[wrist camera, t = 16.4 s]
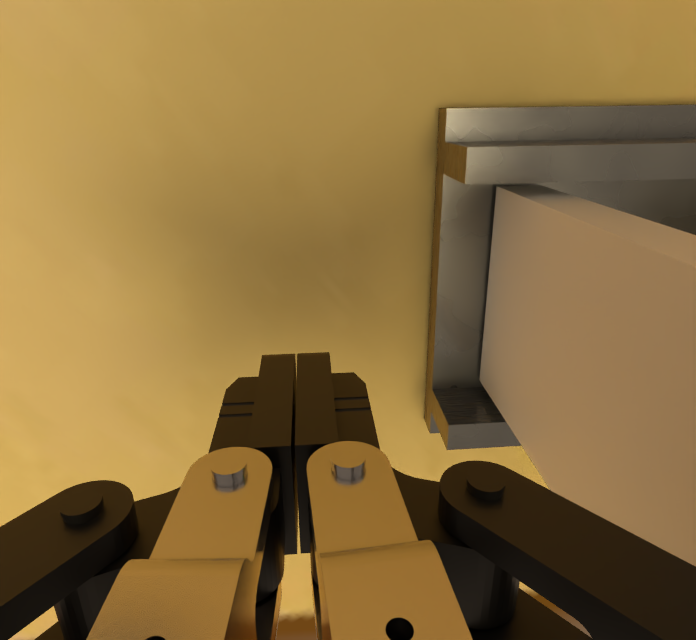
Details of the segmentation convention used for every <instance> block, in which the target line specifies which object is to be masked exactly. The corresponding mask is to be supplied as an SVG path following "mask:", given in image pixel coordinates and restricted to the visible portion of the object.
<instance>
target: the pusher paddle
mask: <svg viewBox="0 0 696 640" xmlns="http://www.w3.org/2000/svg"><path fill="white" fill-rule="evenodd" d="M479 380H480V382H481V384H482V385H483V387H484V388H485V390H486V391H487V393H488V394H489V396H490V397H491V399H492V401H493V402H494V404H495V405H496V407H497V408H498V410H499V411H500V413H501V414H502V416H503V418H504V419H505V421H506V422H507V424H508V425H509V427H510V428H511V430H512V432H513V433H514V435H515V436H516V438H517V439H518V441H519V442H520V444H521V445H522V447H523V449H524V450H525V452H526V453H527V455H528V456H529V458H530V459H531V461H532V463H533V464H534V466H535V467H536V469H537V470H538V472H539V473H540V475H541V476H542V478H543V480H544V481H545V483H546V484H547V486H548V487H549V489H550V490H551V491H552V492H554V493H556V494H558V495H560V496H562V497H564V498H566V499H568V500H570V501H572V502H573V503H575V504H577V505H579V506H581V507H583V508H585V509H587V510H589V511H591V512H593V513H594V514H596V515H598V516H600V517H602V518H604V519H606V520H608V521H610V522H612V523H613V524H615V525H617V526H619V527H621V528H623V529H625V530H627V531H629V532H631V533H633V534H634V535H636V536H638V537H640V538H642V539H644V540H646V541H648V542H650V543H652V544H654V545H655V546H657V547H659V548H661V549H663V550H665V551H667V552H669V553H671V554H673V555H675V556H676V557H678V558H680V559H682V560H684V561H686V562H688V563H690V564H692V565H694V566H696V235H693V234H690V233H687V232H684V231H681V230H678V229H675V228H672V227H669V226H666V225H662V224H659V223H656V222H653V221H650V220H647V219H644V218H641V217H638V216H635V215H632V214H629V213H625V212H622V211H619V210H616V209H613V208H610V207H607V206H604V205H601V204H598V203H595V202H592V201H588V200H585V199H582V198H579V197H576V196H573V195H570V194H567V193H564V192H561V191H558V190H555V189H551V188H548V187H545V186H542V185H525V186H497V188H496V199H495V210H494V221H493V233H492V244H491V255H490V266H489V277H488V289H487V300H486V311H485V322H484V333H483V345H482V356H481V367H480V378H479Z"/></svg>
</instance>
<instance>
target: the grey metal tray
mask: <svg viewBox="0 0 696 640" xmlns="http://www.w3.org/2000/svg"><path fill="white" fill-rule="evenodd" d="M525 185H542V186H545V187H548V188H551V189H555V190H558V191H561V192H564V193H567V194H570V195H573V196H576V197H579V198H582V199H585V200H588V201H592V202H595V203H598V204H601V205H604V206H607V207H610V208H613V209H616V210H619V211H622V212H625V213H629V214H632V215H635V216H638V217H641V218H644V219H647V220H650V221H653V222H656V223H659V224H662V225H666V226H669V227H672V228H675V229H678V230H681V231H684V232H687V233H690V234H693V235H696V105H635V106H567V107H498V108H439V124H438V146H437V167H436V188H435V209H434V230H433V251H432V273H431V294H430V315H429V336H428V357H427V378H426V400H425V422H426V425H427V427H428V430H429V432H430V433H440V434H441V437H442V439H443V441H444V444H445V446H446V449H447V450H454V449H471V448H488V447H505V446H522V445H521V444H520V442H519V441H518V439H517V438H516V436H515V435H514V433H513V432H512V430H511V428H510V427H509V425H508V424H507V422H506V421H505V419H504V418H503V416H502V414H501V413H500V411H499V410H498V408H497V407H496V405H495V404H494V402H493V401H492V399H491V397H490V396H489V394H488V393H487V391H486V390H485V388H484V387H483V385H482V384H481V382H480V380H479V378H480V367H481V356H482V345H483V333H484V322H485V311H486V300H487V289H488V277H489V266H490V255H491V244H492V233H493V221H494V210H495V199H496V188H497V186H525Z"/></svg>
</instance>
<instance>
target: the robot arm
mask: <svg viewBox="0 0 696 640" xmlns="http://www.w3.org/2000/svg"><path fill="white" fill-rule="evenodd" d="M298 510H299V528H300V546H301V553H310V555H311V576H312V595H313V605H314V614H315V624H316V632H317V640H696V566H694V565H692V564H690V563H688V562H686V561H684V560H682V559H680V558H678V557H676V556H675V555H673V554H671V553H669V552H667V551H665V550H663V549H661V548H659V547H657V546H655V545H654V544H652V543H650V542H648V541H646V540H644V539H642V538H640V537H638V536H636V535H634V534H633V533H631V532H629V531H627V530H625V529H623V528H621V527H619V526H617V525H615V524H613V523H612V522H610V521H608V520H606V519H604V518H602V517H600V516H598V515H596V514H594V513H593V512H591V511H589V510H587V509H585V508H583V507H581V506H579V505H577V504H575V503H573V502H572V501H570V500H568V499H566V498H564V497H562V496H560V495H558V494H556V493H554V492H552V491H551V490H549V489H547V488H545V487H543V486H541V485H539V484H537V483H535V482H533V481H531V480H530V479H528V478H526V477H524V476H522V475H520V474H518V473H516V472H514V471H512V470H510V469H508V468H506V467H504V466H501V465H498V464H495V463H491V462H486V461H466V462H461V463H458V464H455V465H453V466H451V467H450V468H448V469H447V470H446V471H445V472H444V473H443V475H442V477H441V479H440V482H436V481H430V480H424V479H419V478H414V477H411V476H408V475H405V474H403V473H401V472H399V471H397V470H395V469H394V468H392V467H391V464H390V462H389V460H388V458H387V456H386V455H385V454H384V453H383V452H382V451H381V450H380V447H379V443H378V438H377V434H376V429H375V425H374V420H373V416H372V411H371V407H370V402H369V399H368V393H367V389H366V384H365V383H364V382H363V381H362V380H361V379H360V378H359V377H358V376H357V375H356V374H355V373H354V372H353V373H331V364H330V354H329V352H325V353H300V354H297V380H296V362H295V354H278V355H262V360H261V366H260V371H259V377H241V378H238V379H237V380H236V381H235V382H234V383H233V384H232V385H231V386H229V387H228V388H227V389H226V392H225V395H224V399H223V403H222V406H221V410H220V413H219V418H218V421H217V424H216V428H215V431H214V435H213V439H212V442H211V446H210V450H209V453H208V454H206V455H204V456H203V457H201V458H199V459H198V460H197V461H196V462H195V463H193V465H192V466H191V467H190V468H189V470H188V472H187V474H186V476H185V478H184V481H183V483H182V485H181V487H179V488H177V489H175V490H172V491H170V492H167V493H164V494H161V495H157V496H153V497H150V498H146V499H142V500H139V501H135V502H134V499H133V495H132V492H131V491H130V489H129V488H128V487H127V486H125V485H123V484H121V483H119V482H115V481H108V480H100V481H91V482H86V483H82V484H79V485H76V486H73V487H70V488H68V489H66V490H64V491H62V492H60V493H58V494H56V495H54V496H53V497H51V498H49V499H48V500H46V501H44V502H42V503H41V504H39V505H37V506H36V507H34V508H32V509H30V510H29V511H27V512H25V513H23V514H22V515H20V516H18V517H17V518H15V519H13V520H11V521H10V522H8V523H6V524H5V525H3V526H1V527H0V640H8V639H10V638H11V637H12V636H14V635H15V634H16V633H18V632H19V631H20V630H22V629H23V628H24V627H26V626H27V625H28V624H30V623H31V622H32V621H34V620H35V619H36V618H38V617H39V616H40V615H42V614H43V613H44V612H46V611H47V610H49V609H50V608H51V607H53V606H54V608H55V611H56V615H57V618H58V622H57V623H55V624H54V625H53V626H52V627H50V628H49V629H48V630H46V631H45V632H44V633H42V634H41V635H40V636H39V637H37V638H36V639H35V640H276V633H277V626H278V619H279V611H280V604H281V597H282V588H281V580H282V577H283V572H284V555H288V554H297V532H298ZM520 581H521V582H522V583H524V584H525V585H527V586H528V587H529V588H531V589H532V590H534V591H535V592H537V593H538V594H540V595H541V596H543V597H544V598H546V599H547V600H549V601H550V602H552V603H553V604H555V605H556V606H558V607H559V608H560V609H562V610H563V611H565V612H566V613H568V614H569V615H571V616H572V617H574V618H575V619H576V620H578V621H579V622H580V623H581V624H582V625H583V626H584V627H585V628H586V629H587V631H588V632H589V633H590V635H591V637H592V638H593V639H592V638H591V637H589V636H588V635H586V634H585V633H583V632H582V631H580V630H579V629H578V628H576V627H575V626H573V625H572V624H570V623H569V622H568V621H566V620H565V619H563V618H562V617H560V616H559V615H557V614H556V613H554V612H553V611H552V610H550V609H549V608H547V607H546V606H544V605H543V604H541V603H540V602H538V601H537V600H536V599H534V598H533V597H531V596H530V595H528V594H527V593H525V592H524V591H523V590H521V589H520V588H519V582H520Z"/></svg>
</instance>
